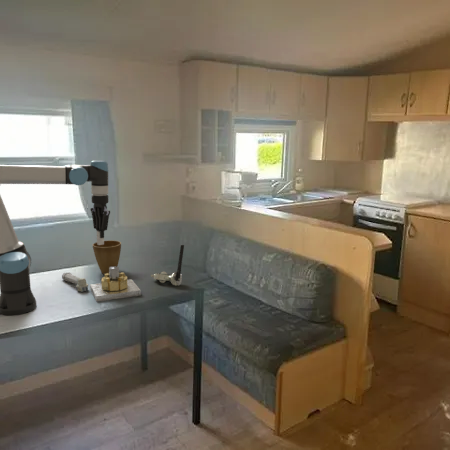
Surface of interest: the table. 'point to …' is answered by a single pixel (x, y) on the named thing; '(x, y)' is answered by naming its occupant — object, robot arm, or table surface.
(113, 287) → the yellow valve with lever
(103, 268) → the plant pot
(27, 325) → the table surface
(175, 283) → the butterfly valve
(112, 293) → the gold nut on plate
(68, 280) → the white handheld device
